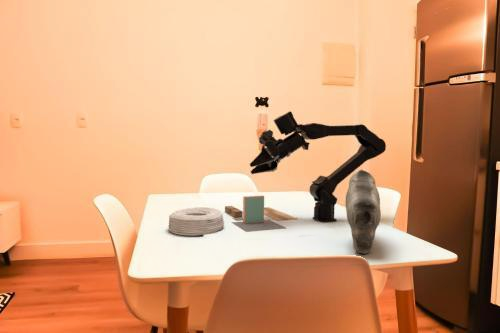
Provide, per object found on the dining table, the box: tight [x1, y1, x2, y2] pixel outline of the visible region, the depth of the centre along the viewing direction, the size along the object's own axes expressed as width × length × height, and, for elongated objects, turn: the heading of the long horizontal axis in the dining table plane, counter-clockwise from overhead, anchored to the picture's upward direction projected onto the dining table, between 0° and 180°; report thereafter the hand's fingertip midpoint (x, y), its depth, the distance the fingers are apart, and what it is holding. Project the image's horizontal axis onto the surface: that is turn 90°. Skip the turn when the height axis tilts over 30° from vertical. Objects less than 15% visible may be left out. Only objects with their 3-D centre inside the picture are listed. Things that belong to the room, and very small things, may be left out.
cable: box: [167, 206, 225, 237], centre depth 115 cm, size 18×18×6 cm
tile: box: [242, 195, 265, 224], centre depth 122 cm, size 7×2×9 cm, turn 112°
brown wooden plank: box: [224, 205, 243, 222], centre depth 134 cm, size 16×5×3 cm, turn 22°
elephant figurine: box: [345, 168, 382, 255], centre depth 100 cm, size 25×9×20 cm, turn 165°
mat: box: [231, 218, 287, 233], centre depth 119 cm, size 14×14×1 cm
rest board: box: [264, 206, 298, 222], centre depth 139 cm, size 8×24×1 cm, turn 22°
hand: (250, 169), depth 125 cm, fingers open, 9 cm apart
